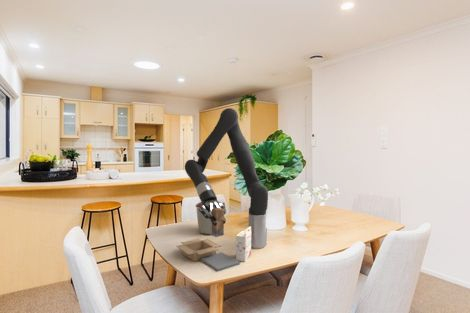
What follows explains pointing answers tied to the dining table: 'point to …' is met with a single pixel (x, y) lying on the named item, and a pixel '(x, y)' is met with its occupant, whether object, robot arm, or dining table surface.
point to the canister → (203, 221)
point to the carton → (192, 245)
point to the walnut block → (218, 222)
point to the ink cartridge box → (243, 245)
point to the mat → (219, 261)
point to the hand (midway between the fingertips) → (220, 223)
